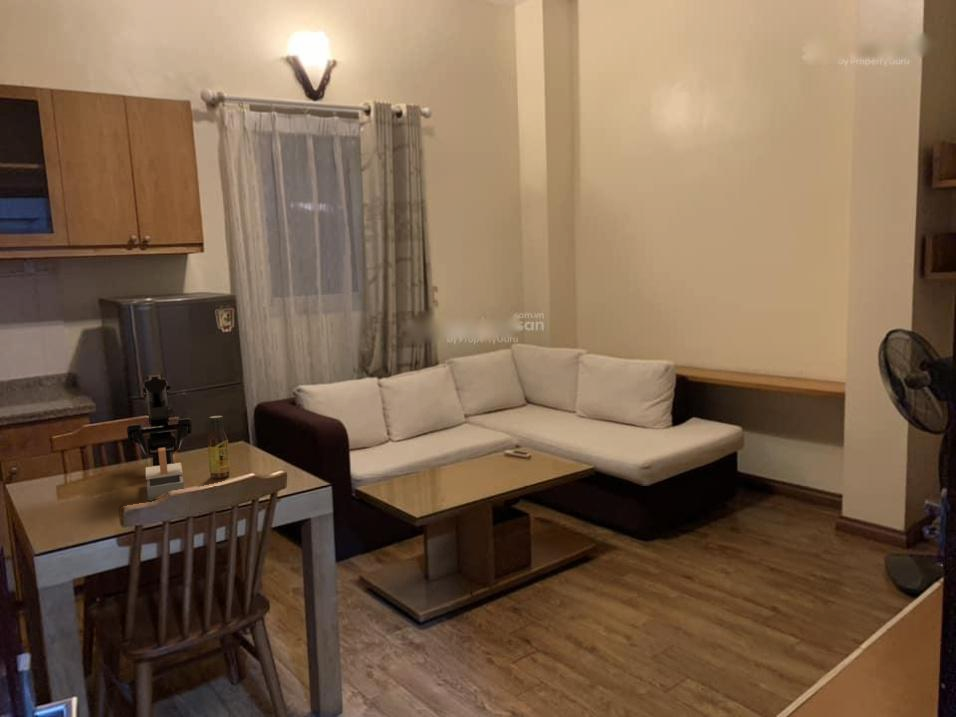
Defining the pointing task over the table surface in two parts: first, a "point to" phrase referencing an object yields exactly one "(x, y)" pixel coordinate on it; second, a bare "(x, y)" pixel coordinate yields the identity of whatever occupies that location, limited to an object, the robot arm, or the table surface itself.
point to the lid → (163, 467)
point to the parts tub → (163, 485)
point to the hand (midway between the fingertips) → (162, 452)
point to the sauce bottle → (218, 449)
